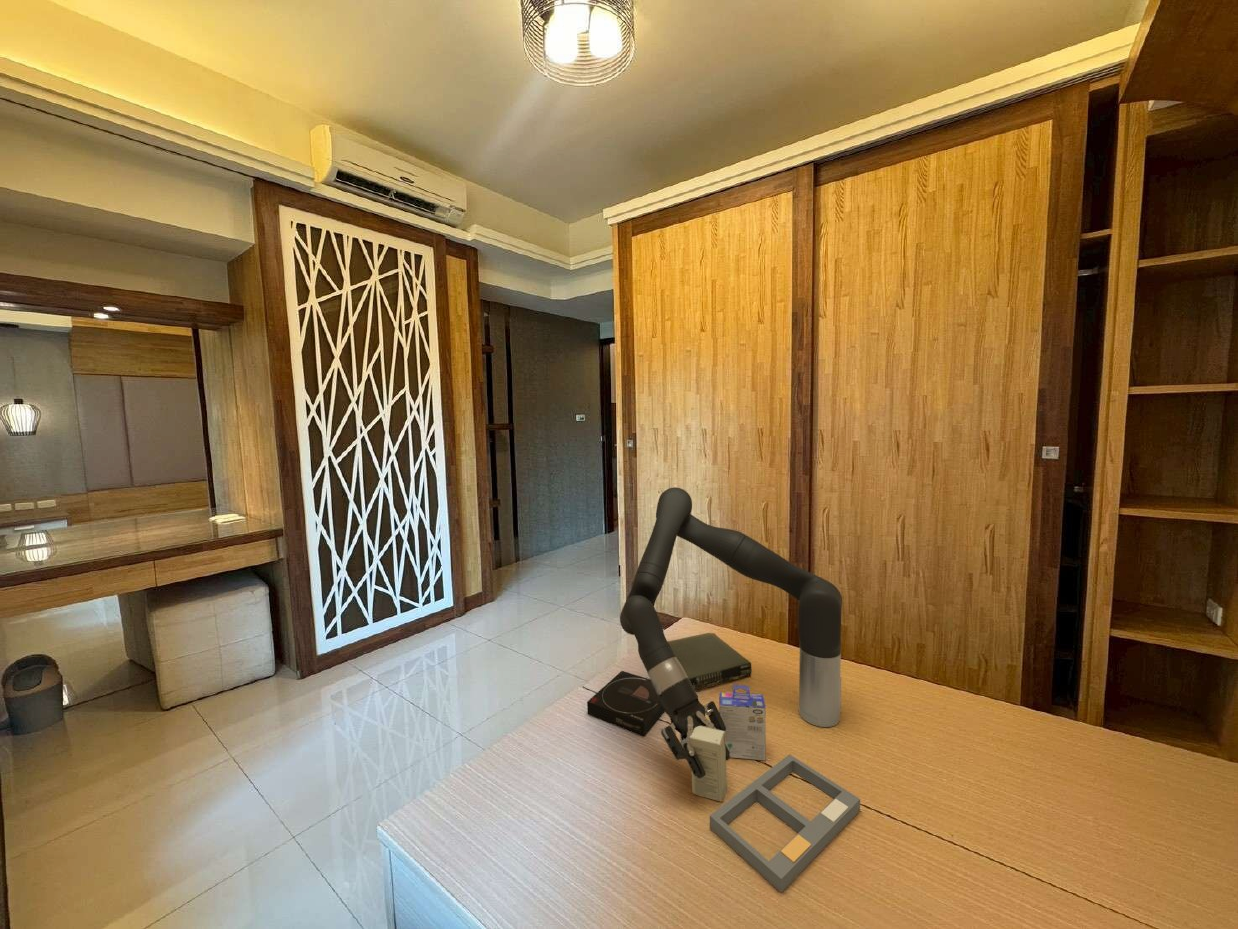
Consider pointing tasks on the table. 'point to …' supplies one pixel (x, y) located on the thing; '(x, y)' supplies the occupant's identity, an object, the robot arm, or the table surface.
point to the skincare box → (710, 762)
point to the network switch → (709, 660)
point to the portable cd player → (627, 703)
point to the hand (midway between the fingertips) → (714, 768)
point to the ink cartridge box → (744, 723)
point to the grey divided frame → (787, 822)
